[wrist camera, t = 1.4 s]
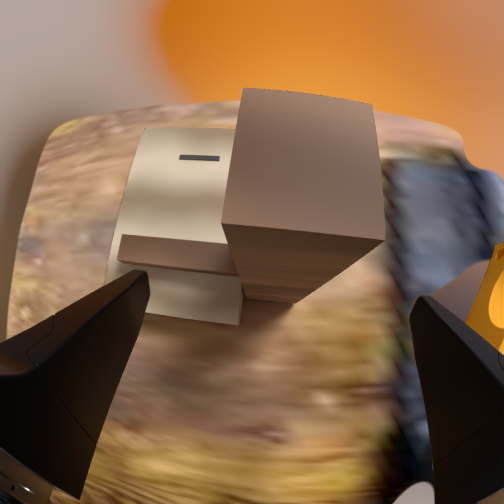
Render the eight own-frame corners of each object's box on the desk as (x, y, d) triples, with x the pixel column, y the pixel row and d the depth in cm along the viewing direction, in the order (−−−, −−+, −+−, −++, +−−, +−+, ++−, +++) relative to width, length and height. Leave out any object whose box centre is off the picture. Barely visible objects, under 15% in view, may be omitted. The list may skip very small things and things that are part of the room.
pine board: (239, 325, 22) (237, 325, 19) (115, 306, 22) (100, 303, 20) (259, 147, 25) (259, 130, 23) (152, 143, 26) (143, 127, 23)
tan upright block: (295, 303, 22) (385, 240, 6) (135, 284, 22) (-24, 209, 7) (299, 250, 23) (372, 104, 7) (144, 235, 23) (17, 112, 8)
